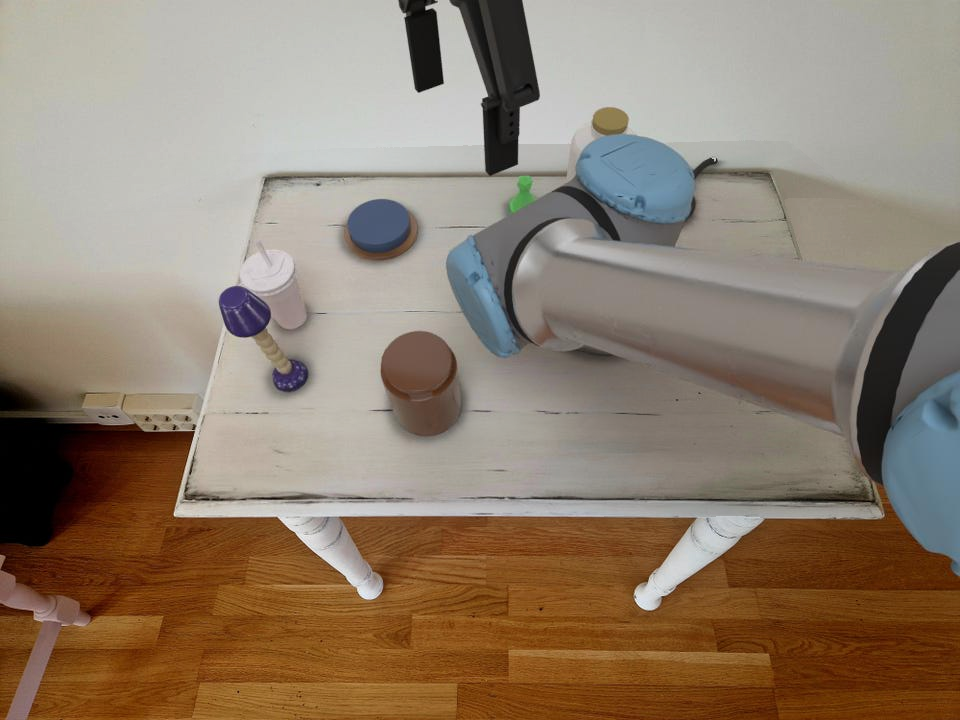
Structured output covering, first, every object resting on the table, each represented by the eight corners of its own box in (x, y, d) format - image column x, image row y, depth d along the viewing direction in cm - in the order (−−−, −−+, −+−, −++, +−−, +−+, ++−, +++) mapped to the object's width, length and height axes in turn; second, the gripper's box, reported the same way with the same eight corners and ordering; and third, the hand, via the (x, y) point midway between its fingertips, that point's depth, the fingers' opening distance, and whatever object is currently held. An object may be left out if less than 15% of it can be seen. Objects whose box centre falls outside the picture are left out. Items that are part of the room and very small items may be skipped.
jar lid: (362, 261, 78) (360, 253, 77) (340, 221, 82) (337, 212, 81) (420, 238, 80) (419, 230, 78) (396, 199, 84) (394, 191, 83)
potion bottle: (603, 202, 83) (628, 89, 68) (628, 242, 79) (660, 132, 64) (550, 216, 82) (563, 104, 67) (573, 258, 78) (591, 149, 63)
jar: (443, 365, 70) (435, 316, 61) (473, 417, 66) (469, 373, 57) (383, 393, 68) (365, 347, 59) (410, 448, 65) (397, 407, 56)
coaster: (399, 197, 85) (399, 194, 85) (429, 243, 80) (429, 240, 80) (334, 222, 83) (333, 219, 82) (361, 271, 78) (360, 268, 77)
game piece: (544, 213, 83) (547, 180, 78) (518, 223, 82) (519, 191, 77) (528, 194, 85) (531, 161, 80) (503, 204, 84) (504, 172, 79)
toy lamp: (297, 399, 68) (243, 319, 54) (262, 390, 69) (200, 309, 54) (313, 366, 70) (267, 280, 56) (279, 357, 71) (224, 271, 57)
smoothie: (326, 318, 74) (293, 244, 62) (284, 346, 72) (242, 276, 60) (299, 289, 77) (262, 213, 65) (258, 316, 74) (212, 242, 62)
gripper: (303, -238, 38) (369, 70, 56) (487, -117, 26) (496, 227, 44) (405, -259, 40) (438, 46, 57) (623, -155, 27) (578, 191, 45)
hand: (463, 124), depth 51 cm, fingers open, 13 cm apart
